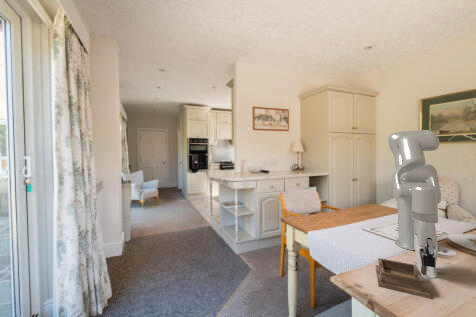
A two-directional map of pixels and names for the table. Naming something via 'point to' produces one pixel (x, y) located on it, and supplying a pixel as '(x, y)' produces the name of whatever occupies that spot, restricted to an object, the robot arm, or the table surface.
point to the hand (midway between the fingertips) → (426, 261)
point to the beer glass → (419, 254)
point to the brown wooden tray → (401, 277)
